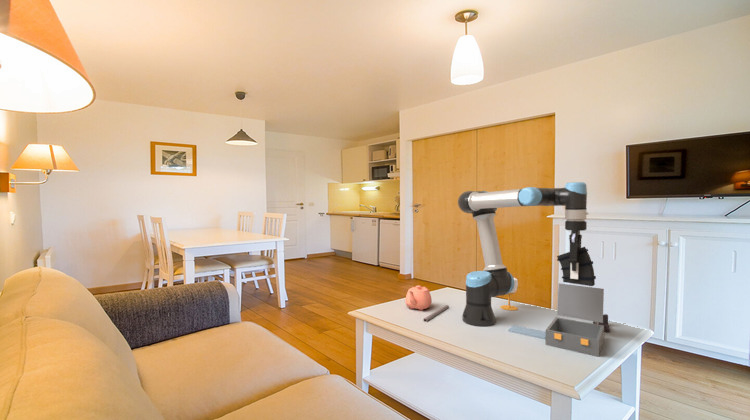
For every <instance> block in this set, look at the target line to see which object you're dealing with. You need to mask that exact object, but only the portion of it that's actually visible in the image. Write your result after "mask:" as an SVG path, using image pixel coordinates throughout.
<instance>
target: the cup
mask: <svg viewBox="0 0 750 420" xmlns="http://www.w3.org/2000/svg"><path fill="white" fill-rule="evenodd" d="M513 278H514V288H513V290H512V291H511V292H510V293H508V294H506V295H507V296H508V300H507V302H508V303H507V305H506V304H503V305H501V306H500V309H502V310H504V311H518V310H519V307H517V306H515V305H511V296H512V295H515V293H516V292H517V290H518V286H519V281H518V278H516V277H513Z"/></svg>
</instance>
